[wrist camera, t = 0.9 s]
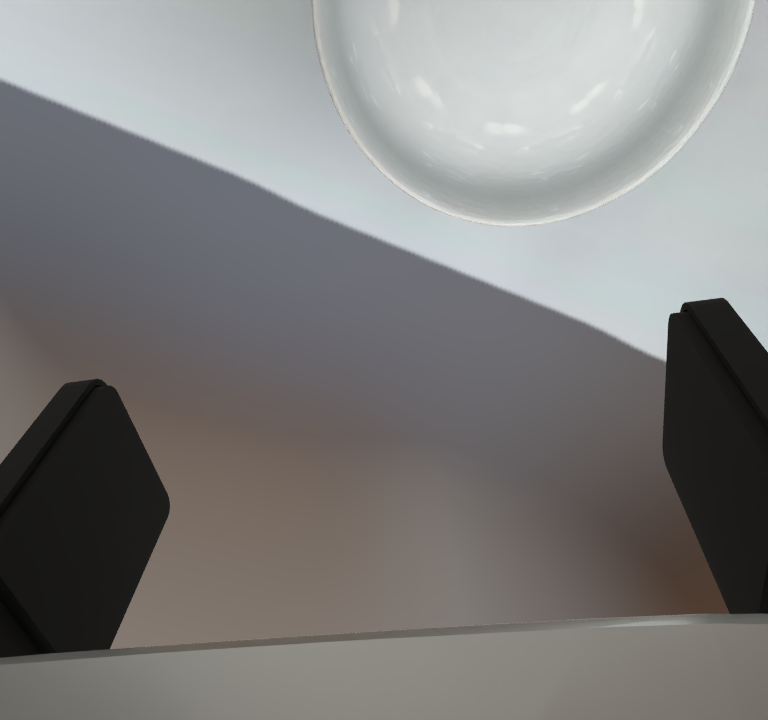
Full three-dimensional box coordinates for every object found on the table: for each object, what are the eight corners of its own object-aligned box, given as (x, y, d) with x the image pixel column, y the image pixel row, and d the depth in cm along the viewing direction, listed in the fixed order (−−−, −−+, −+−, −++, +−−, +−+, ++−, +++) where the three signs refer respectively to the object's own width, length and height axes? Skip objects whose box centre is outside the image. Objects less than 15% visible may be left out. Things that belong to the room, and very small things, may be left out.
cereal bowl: (732, 94, 33) (797, 133, 27) (421, 225, 38) (418, 282, 32) (649, -345, 25) (715, -426, 19) (265, -108, 30) (223, -114, 24)
